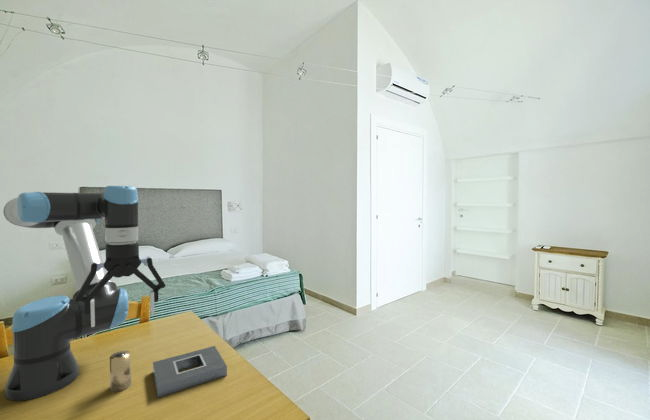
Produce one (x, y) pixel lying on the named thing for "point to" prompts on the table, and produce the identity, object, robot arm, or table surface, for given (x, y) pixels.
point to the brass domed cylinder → (120, 371)
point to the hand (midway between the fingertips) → (124, 319)
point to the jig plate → (174, 381)
